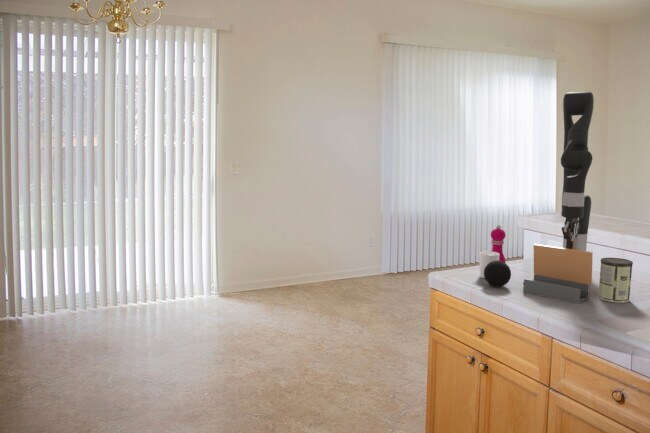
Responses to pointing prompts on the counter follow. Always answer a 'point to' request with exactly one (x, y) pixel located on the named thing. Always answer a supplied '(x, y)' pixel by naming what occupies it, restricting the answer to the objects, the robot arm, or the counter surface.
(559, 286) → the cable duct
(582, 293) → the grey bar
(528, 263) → the counter surface
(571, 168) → the robot arm
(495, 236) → the pepper mill
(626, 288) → the coffee can
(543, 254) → the brown flat rectangular panel
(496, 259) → the white cup
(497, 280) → the speaker
